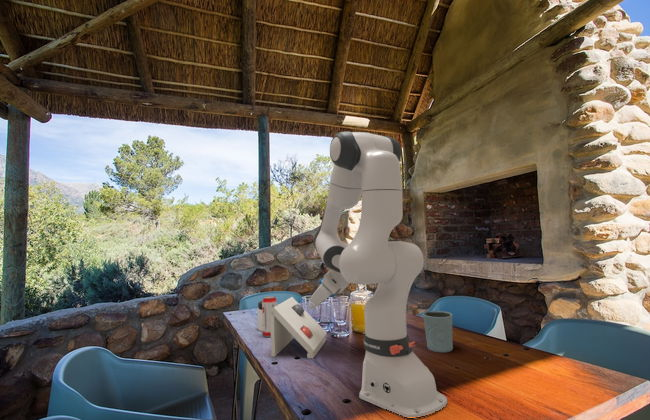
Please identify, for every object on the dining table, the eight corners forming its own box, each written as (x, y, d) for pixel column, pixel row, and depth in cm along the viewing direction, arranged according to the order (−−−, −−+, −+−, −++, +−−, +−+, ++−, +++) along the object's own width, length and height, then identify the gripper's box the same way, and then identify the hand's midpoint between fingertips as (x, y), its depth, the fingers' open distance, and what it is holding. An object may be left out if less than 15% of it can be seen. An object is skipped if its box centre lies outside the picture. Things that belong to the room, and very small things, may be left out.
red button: (313, 339, 123) (313, 325, 123) (310, 342, 119) (310, 328, 119) (300, 338, 124) (300, 325, 124) (297, 342, 120) (296, 328, 120)
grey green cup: (444, 355, 113) (442, 318, 114) (418, 348, 121) (416, 313, 122) (460, 348, 119) (457, 313, 120) (434, 341, 127) (432, 309, 128)
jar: (264, 325, 158) (264, 299, 159) (280, 326, 156) (279, 300, 156) (254, 331, 150) (254, 303, 151) (270, 332, 147) (270, 304, 148)
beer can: (279, 333, 145) (278, 295, 147) (275, 337, 139) (274, 298, 140) (265, 333, 146) (264, 295, 147) (260, 337, 140) (260, 298, 141)
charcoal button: (305, 316, 132) (305, 303, 132) (302, 318, 128) (302, 305, 129) (293, 315, 133) (293, 303, 134) (290, 318, 129) (289, 305, 130)
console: (327, 340, 134) (325, 296, 135) (314, 358, 114) (312, 307, 115) (290, 338, 137) (288, 296, 138) (271, 356, 118) (270, 307, 119)
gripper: (335, 272, 136) (312, 296, 138) (322, 278, 116) (296, 307, 118) (346, 283, 135) (323, 307, 136) (336, 292, 115) (309, 320, 116)
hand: (310, 307), depth 127 cm, fingers closed
